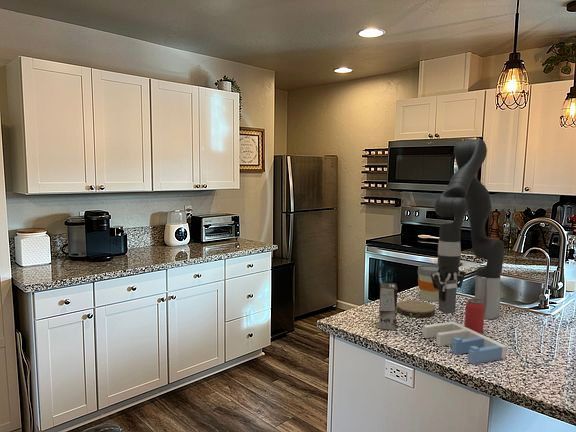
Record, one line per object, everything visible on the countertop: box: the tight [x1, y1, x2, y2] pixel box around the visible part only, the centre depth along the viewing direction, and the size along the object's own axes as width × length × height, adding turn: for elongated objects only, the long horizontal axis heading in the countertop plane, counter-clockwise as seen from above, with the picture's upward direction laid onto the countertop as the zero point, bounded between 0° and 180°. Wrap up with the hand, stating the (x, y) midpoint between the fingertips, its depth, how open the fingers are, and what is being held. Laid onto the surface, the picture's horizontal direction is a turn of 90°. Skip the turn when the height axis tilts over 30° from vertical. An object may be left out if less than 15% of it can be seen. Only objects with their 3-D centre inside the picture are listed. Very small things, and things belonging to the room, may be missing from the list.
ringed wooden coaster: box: [396, 299, 436, 319], centre depth 184 cm, size 16×16×3 cm
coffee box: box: [378, 282, 398, 331], centre depth 167 cm, size 9×6×16 cm
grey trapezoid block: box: [438, 280, 457, 315], centre depth 153 cm, size 4×4×12 cm
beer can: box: [464, 297, 485, 334], centre depth 162 cm, size 7×7×12 cm
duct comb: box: [422, 320, 508, 365], centre depth 148 cm, size 14×24×5 cm, turn 21°
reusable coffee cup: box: [417, 264, 440, 302], centre depth 203 cm, size 13×13×15 cm
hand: (447, 300), depth 153 cm, fingers closed on grey trapezoid block, 4 cm apart
